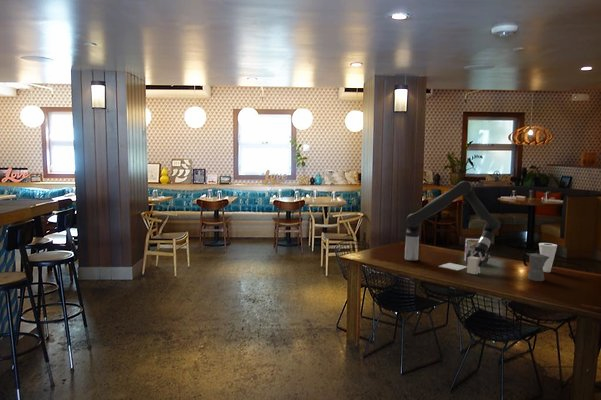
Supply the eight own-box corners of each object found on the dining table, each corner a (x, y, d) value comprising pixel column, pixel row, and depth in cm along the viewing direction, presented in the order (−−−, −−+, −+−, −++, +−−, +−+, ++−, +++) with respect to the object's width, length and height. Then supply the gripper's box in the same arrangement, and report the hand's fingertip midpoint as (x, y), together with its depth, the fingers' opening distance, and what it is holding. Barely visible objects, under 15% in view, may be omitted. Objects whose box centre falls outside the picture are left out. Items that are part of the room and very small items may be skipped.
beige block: (475, 274, 286) (476, 259, 285) (467, 272, 291) (467, 257, 290) (480, 273, 290) (480, 257, 289) (471, 271, 294) (472, 256, 293)
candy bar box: (465, 262, 319) (467, 239, 317) (464, 260, 324) (465, 238, 322) (482, 262, 318) (483, 240, 316) (480, 261, 323) (481, 238, 321)
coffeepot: (549, 279, 277) (550, 250, 275) (546, 282, 270) (548, 253, 268) (521, 275, 286) (523, 247, 284) (518, 278, 278) (520, 249, 277)
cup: (553, 274, 289) (555, 246, 287) (535, 271, 296) (536, 244, 294) (557, 271, 297) (559, 244, 295) (539, 268, 304) (541, 242, 302)
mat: (457, 270, 296) (457, 270, 296) (438, 266, 306) (438, 265, 306) (468, 267, 305) (468, 266, 305) (449, 263, 315) (449, 262, 315)
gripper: (470, 240, 299) (461, 260, 293) (491, 243, 289) (482, 264, 282) (474, 247, 303) (464, 266, 297) (495, 250, 293) (485, 271, 286)
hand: (473, 265), depth 289 cm, fingers open, 7 cm apart
